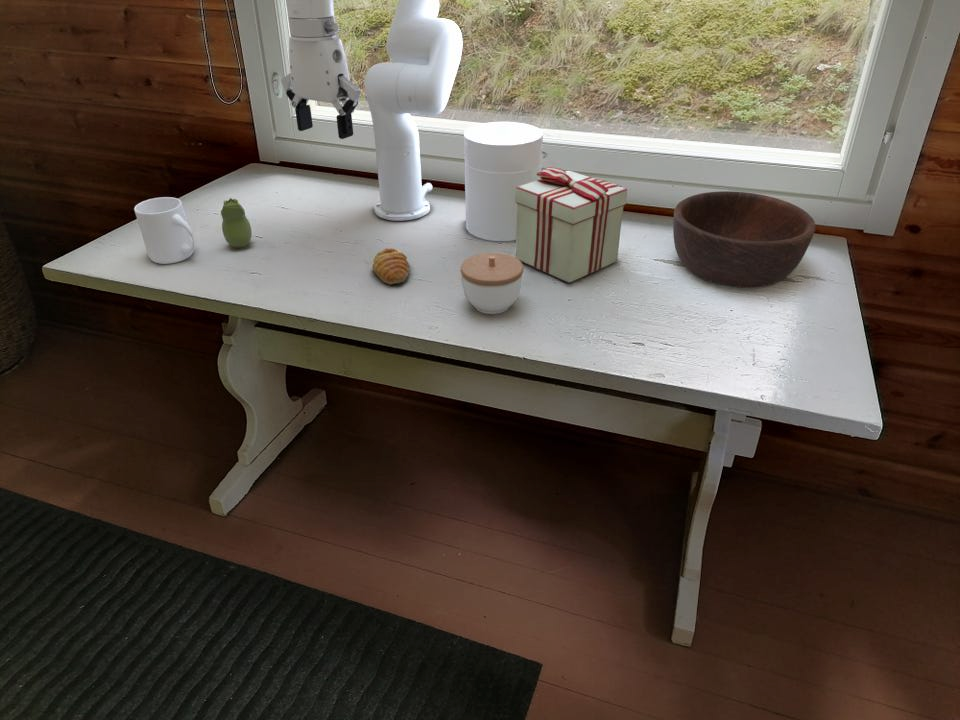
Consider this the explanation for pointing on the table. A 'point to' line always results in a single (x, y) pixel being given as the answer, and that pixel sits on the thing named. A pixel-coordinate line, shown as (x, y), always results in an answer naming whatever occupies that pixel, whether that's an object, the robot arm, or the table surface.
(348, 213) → the table surface
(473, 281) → the trinket box
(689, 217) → the wooden bowl
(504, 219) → the canister
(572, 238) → the gift box
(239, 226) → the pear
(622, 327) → the table surface
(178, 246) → the mug
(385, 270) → the pastry
